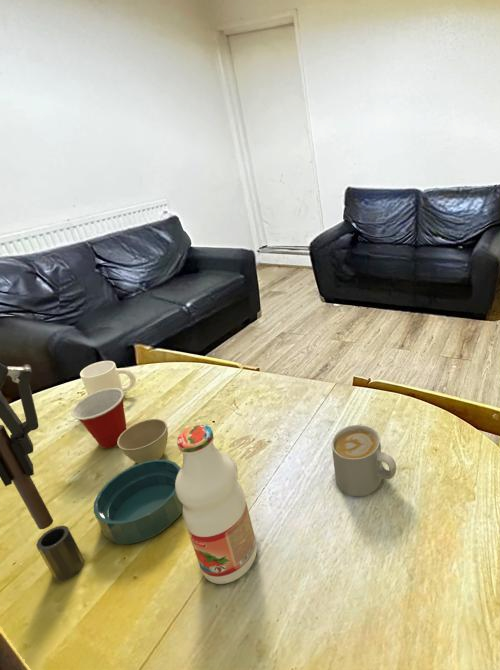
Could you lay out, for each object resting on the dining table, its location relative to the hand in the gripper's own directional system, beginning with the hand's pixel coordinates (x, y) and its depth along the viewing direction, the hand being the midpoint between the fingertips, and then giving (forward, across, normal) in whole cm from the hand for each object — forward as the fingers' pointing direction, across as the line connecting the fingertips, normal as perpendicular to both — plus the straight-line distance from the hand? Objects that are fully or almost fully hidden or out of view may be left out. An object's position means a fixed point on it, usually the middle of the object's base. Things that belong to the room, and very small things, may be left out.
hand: (19, 474), depth 63 cm
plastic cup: (+22, +12, +32) cm, 40 cm away
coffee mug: (+22, +50, -21) cm, 59 cm away
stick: (+11, 0, 0) cm, 11 cm away
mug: (+22, +16, +51) cm, 58 cm away
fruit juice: (+22, +22, -18) cm, 36 cm away
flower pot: (+22, +18, +19) cm, 34 cm away
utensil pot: (+22, 0, 0) cm, 22 cm away
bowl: (+22, +14, +3) cm, 26 cm away
